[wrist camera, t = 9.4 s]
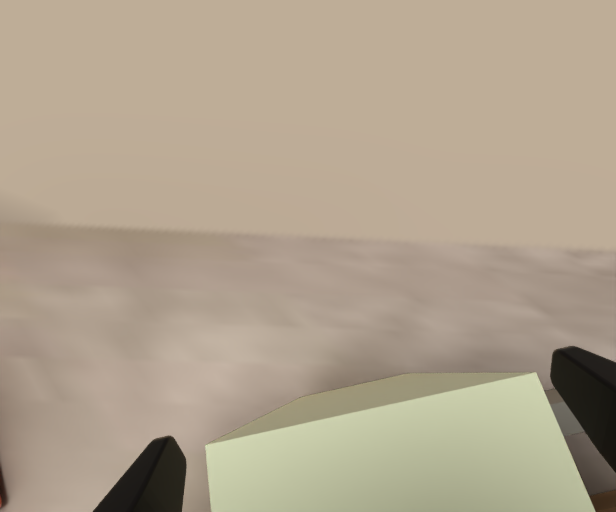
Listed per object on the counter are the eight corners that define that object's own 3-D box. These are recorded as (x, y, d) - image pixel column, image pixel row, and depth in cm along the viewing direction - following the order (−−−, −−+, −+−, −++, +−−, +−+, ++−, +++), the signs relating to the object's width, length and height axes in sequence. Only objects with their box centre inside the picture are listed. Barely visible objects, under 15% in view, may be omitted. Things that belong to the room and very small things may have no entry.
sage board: (429, 447, 14) (652, 644, 4) (314, 471, 14) (229, 724, 4) (407, 373, 15) (536, 372, 5) (300, 397, 15) (204, 444, 5)
